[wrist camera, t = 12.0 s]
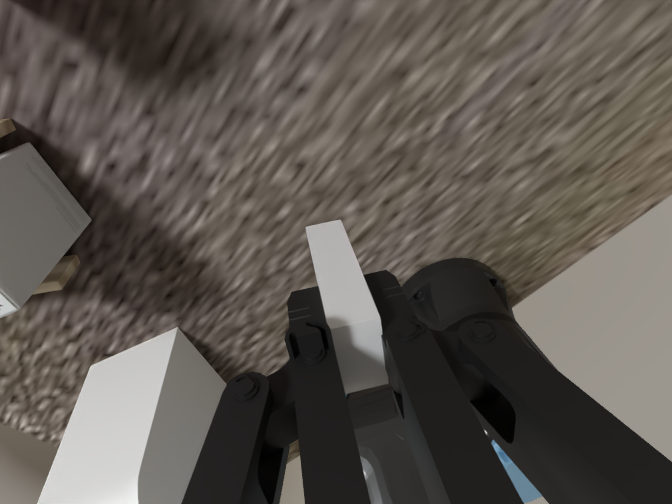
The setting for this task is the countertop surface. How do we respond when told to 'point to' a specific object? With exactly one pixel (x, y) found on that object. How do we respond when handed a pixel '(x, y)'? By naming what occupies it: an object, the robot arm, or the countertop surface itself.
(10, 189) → the supplement box
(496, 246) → the countertop surface
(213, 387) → the milk
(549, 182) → the countertop surface
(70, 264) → the box
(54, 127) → the countertop surface
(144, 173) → the countertop surface
